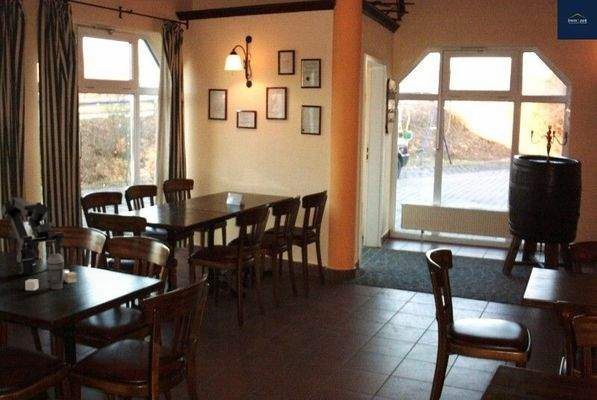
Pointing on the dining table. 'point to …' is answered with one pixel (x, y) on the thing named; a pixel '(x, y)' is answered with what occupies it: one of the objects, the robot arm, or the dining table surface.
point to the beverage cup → (55, 269)
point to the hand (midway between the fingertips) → (48, 255)
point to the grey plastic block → (31, 284)
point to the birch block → (70, 277)
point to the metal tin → (64, 272)
